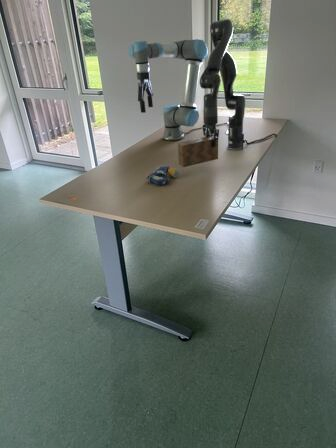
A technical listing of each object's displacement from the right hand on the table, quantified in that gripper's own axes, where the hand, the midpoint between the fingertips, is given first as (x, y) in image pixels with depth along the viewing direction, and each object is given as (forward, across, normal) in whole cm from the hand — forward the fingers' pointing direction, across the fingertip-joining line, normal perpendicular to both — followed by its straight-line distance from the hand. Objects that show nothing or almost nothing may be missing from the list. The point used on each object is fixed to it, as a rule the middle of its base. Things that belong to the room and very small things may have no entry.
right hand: (210, 145), depth 187 cm
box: (+8, 0, +8) cm, 11 cm away
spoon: (+13, +62, -56) cm, 84 cm away
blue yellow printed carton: (+14, +2, +29) cm, 32 cm away
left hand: (-16, +39, +21) cm, 48 cm away
